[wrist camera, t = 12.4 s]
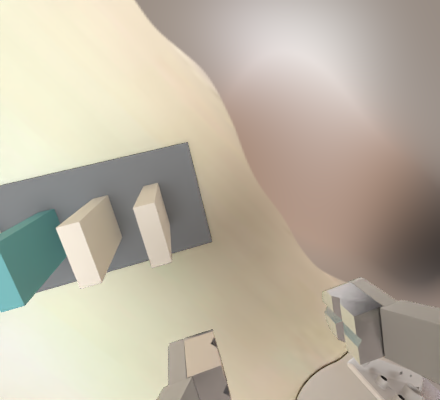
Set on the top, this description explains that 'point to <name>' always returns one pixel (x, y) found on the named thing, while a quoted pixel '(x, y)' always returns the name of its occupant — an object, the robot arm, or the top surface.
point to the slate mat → (115, 201)
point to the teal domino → (28, 258)
